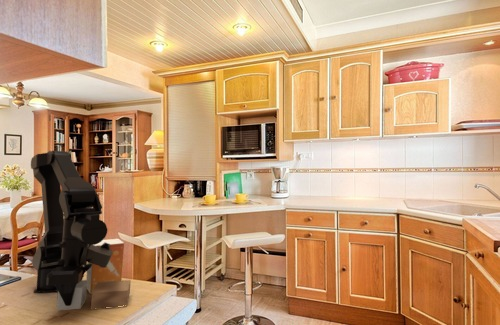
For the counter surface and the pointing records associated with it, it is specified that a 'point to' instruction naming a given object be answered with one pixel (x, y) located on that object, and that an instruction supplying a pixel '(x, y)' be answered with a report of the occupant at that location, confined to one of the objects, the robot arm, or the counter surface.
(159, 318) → the counter surface
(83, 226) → the robot arm
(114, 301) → the base block
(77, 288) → the cube
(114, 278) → the small box
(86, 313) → the counter surface
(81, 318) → the counter surface
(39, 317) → the counter surface
